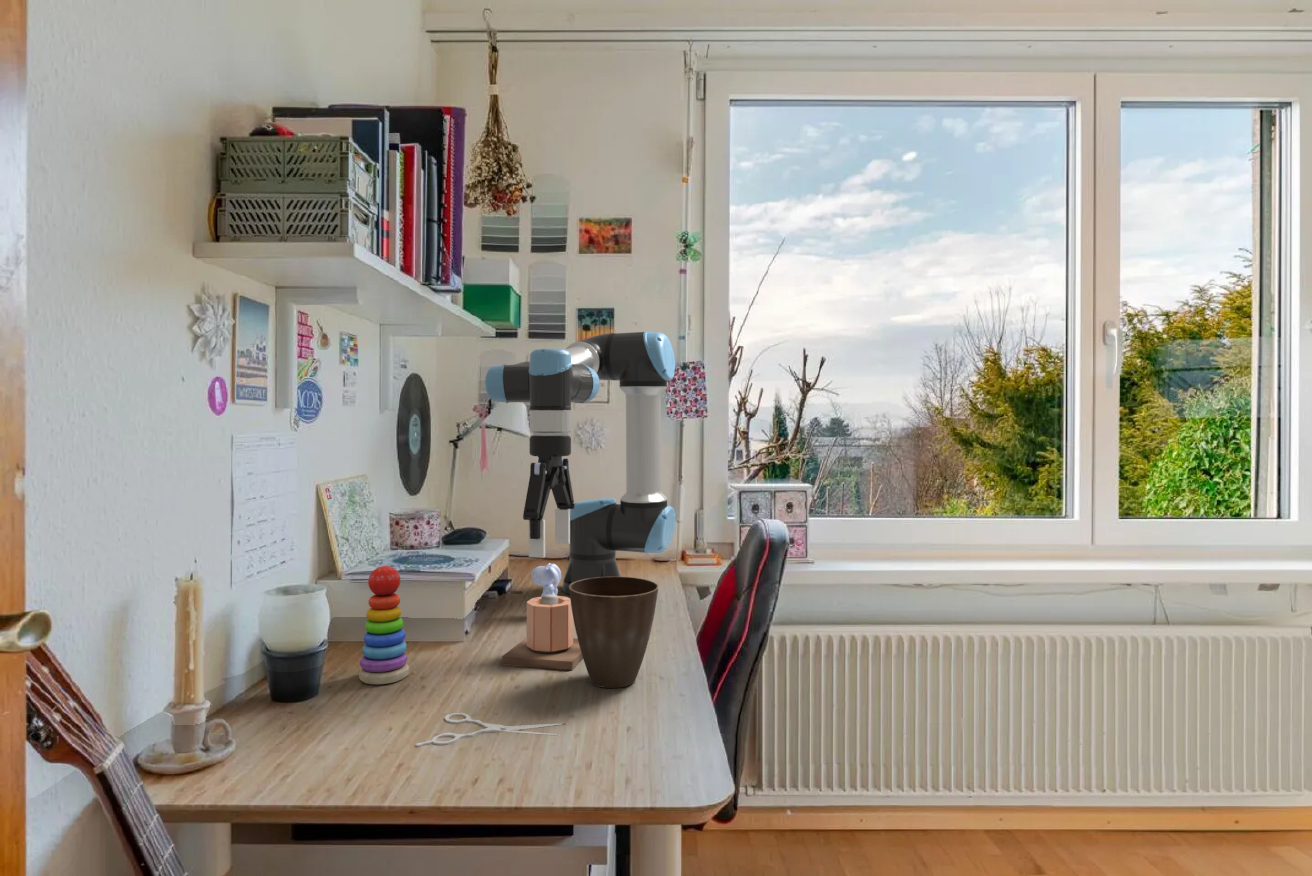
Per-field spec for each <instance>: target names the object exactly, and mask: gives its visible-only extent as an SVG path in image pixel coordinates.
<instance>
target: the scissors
mask: <svg viewBox="0 0 1312 876" xmlns="http://www.w3.org/2000/svg"><path fill="white" fill-rule="evenodd" d="M456 716H458V717H460V716H462V717H464V718H463V719H451V717H456ZM444 720H445V721H446V722H447V723H450V724H455V725H457V724H462V723H463V724H464V723H472V724H476V725H479V726H482V727H484V728H483V729H479V730H476V731H474V732H473V731H472V732H469V733H454V732H449V731H448V732H445V733H440V734H437V735H435V736H434V737H432V739H430V740H427V741H422V742H416V744H415V745H416V748H421V747H423V746H427V745H432V744H433V745H437V746H446V745H447V746H448V745H452V744H454V743H457V742H458V741H459V740H462V739H465V738H470V737H471V738H472V737H475V736H476V735H481V734H487V733H499V732H506V733H507V732H508V733H516V734H517V733H518V734H527V735H528V734H531V735H545V736H559V737H564V735H561V734H555V733H546V732H536V731H523V730H527V729H535V728H536V729H537V728H543V727H552V726H553V727H554V726H560V725H562V723H545V724H544V723H542V724H540V723H539V724H524V725H511V726H510V725H504V724H497V723H488V722H483V721H481V719H472V717H471V716H470V715H469V714H467V713H465V712H453V713H449V714H447V715H445V716H444ZM567 725H569V723H567ZM520 730H521V731H520ZM445 737H446V738H447V737H451V738H453V739H450V740H445V741H439V740H438V739H442V738H445Z"/></svg>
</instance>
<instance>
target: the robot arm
mask: <svg viewBox="0 0 1312 876" xmlns="http://www.w3.org/2000/svg"><path fill="white" fill-rule="evenodd" d="M675 358H676V357H675V353H674V349H673V346H672V343H671V341H670V339H669V337H668V336H667V335H666V334H665V333H663V332H658V331H657V332H656V331H655V332H653V331H638V332H637V331H636V332H616V333H613V332H610V333H609V332H608V333H602V334H598V335H594V336H590V337H588V338H584V339H581V340H578V341H575V342H573V343H571V344H569V345H567V347H566V348H565V349H561V348H537V349H533V350H532V351H531V352H530V354H529V360H525V361H521V362H518V363H514V364H506V363H504V364H501V365H500V364H499V365H492V366H491V367H490V368H489V369H488V371H486V375H485V379H484V385H485V390H486V391H485V392H486V395H487V396H488V398H489V399H490V400H491V401H493V402H496V403H505V404H509V403H529V415H528V416H527V420H528V421H529V432H531V433H532V435H530V437H529V455H530V456H532V457H537V458H538V460H537V462H530V471H529V481H528V486H527V492H526V496H525V497H526V498H525V502H524V508H523V514H522V519H523V520H524V521H528V557H529V558H541V559H542V558H545V557H546V519H544V518H543V517H544V514H545V511H546V508H547V503H548V500H549V496H550V493H552V496H553V498H554V501H555V505H556V508H557V509H554V510H555V511H554V543H555V544H561V545H562V544H565V545H569V560H568V564H567V567H566V571H565V573H564V576H563V579H562V592H563V593H564V594H567V595H570V592H569V585H570V584H571V583H573V582H576V581H578V580H582V579H587V578H595V577H622V576H621V573H620V569H619V567H618V563H617V559H616V556H617V555H616V553H617V552H627V553H628V552H629V553H641V554H646V555H649V554H662V553H664V552H665V551H666V550H667V549H668V548H669V547H670V545H671V542H672V539H673V537H674V532H675V528H676V511H675V508H674V507H673V506H671V505H668V497H667V496H666V495H665V494H664V493H663V492H662V417H661V416H662V408H661V407H662V402H661V401H662V396H661V395H662V394H663V393H664V392H665V390H666V389H668V381H671V380H673V379H674V376H675V371H676V359H675ZM600 381H619V389H620V390H621V391H622V392H623V393H624V394H625V434H626V435H625V449H626V450H625V459H626V460H625V466H626V467H625V468H626V469H625V471H626V472H625V473H626V475H625V477H626V479H625V482H626V484H625V486H626V489H625V493H624V494H623V495H622V496H621V497H620V501H619V502H620V503H618V504H617V500H616V497H601V498H594V499H593V498H592V499H586V500H585V499H584V500H580V501H576V502H575V500H574V494H573V493H574V492H573V487H572V482H571V473H570V467H569V462H570V461H569V458H565V457H569V456H571V454H572V437H571V436H570V435H569V433H571V432H572V403H574V404H584V403H588V402H591V401H592V400H593V399H595V398H596V396H597V394H598V393H599V391H600V387H601V385H600V384H601V382H600ZM563 457H564V458H563ZM616 551H617V552H616Z"/></svg>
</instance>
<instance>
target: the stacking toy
mask: <svg viewBox="0 0 1312 876" xmlns="http://www.w3.org/2000/svg"><path fill="white" fill-rule="evenodd" d="M400 584H401V576H400V573H399V571H397V569H396V568H394V567H393V566H388V565H382V566H379V567H377V568H375V569H373V570H372V572H371V573H370V574H369V576H368V587H369V589H370V591H371V592H372V593H373V595H371V596H370V597H369V600H368V606H369V607H370V608H369V609H367V611H366V612H365V616H366V618H367V621H366V622H365V625H364V628H365V630H366V633H364V636H363V643H364V646H362V655H363V656H361V658H360V660H359V667H360V670H359V672H358V678H359V680H360V681H361V682H363V683H364V684H367V685H386V684H387V685H388V684H392V683H397V682H399V681H401V680H403V679H405V678H406V677H408V675H409V674H410V666H409V664H408V663H407V662H408V655H407V654H406V651H407V647H408V646H407V645H408V644H407V642H406V641H405V638H406V633H405V630H404V629H402V628H403V627H404V621H403V618H402V617H401V615H402V609H401V607H399V605H400V603H401V597H400V595H399V594H397V593H396V591H398V588H399V587H400Z"/></svg>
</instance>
